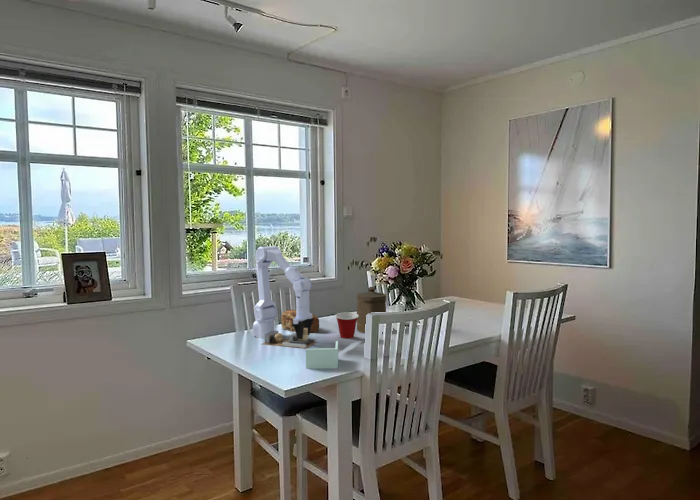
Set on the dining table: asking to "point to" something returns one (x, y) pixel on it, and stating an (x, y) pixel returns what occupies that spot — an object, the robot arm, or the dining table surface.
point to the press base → (285, 341)
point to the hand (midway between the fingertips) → (303, 336)
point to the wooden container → (369, 306)
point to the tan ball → (278, 338)
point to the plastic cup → (346, 324)
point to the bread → (291, 314)
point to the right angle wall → (322, 358)
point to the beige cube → (302, 341)
